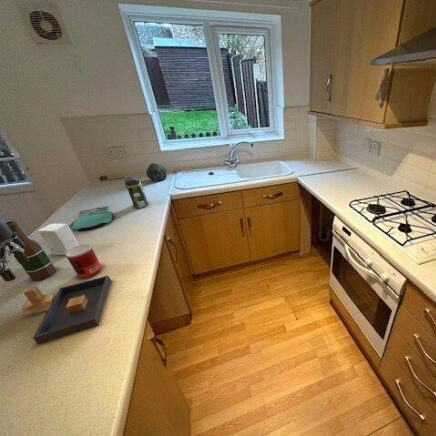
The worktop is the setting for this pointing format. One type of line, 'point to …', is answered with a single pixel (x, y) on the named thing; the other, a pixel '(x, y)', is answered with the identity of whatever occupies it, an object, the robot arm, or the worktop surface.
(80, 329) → the tray
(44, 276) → the beer bottle
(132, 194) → the coffee jar
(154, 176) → the squash
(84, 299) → the orange brown wooden block
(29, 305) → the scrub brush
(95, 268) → the canned food
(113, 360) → the worktop surface
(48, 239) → the small box
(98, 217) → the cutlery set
